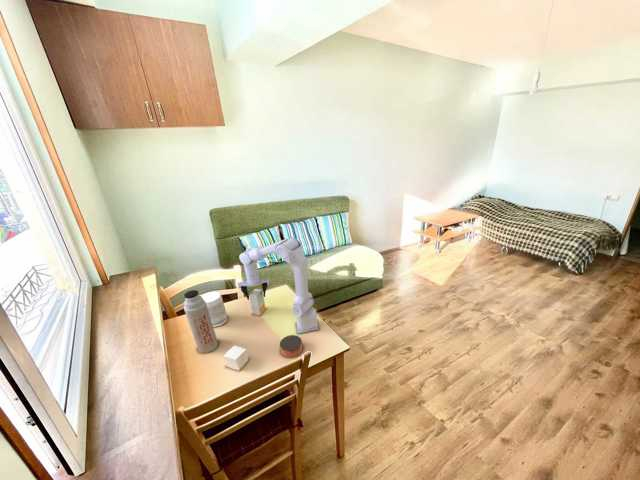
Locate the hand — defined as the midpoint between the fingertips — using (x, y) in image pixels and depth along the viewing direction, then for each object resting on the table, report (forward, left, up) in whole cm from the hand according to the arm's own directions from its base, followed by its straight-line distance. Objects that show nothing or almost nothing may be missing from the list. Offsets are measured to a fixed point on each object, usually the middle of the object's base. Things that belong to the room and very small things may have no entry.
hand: (256, 297), depth 139 cm
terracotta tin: (-13, +32, -9) cm, 35 cm away
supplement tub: (+20, +2, -9) cm, 22 cm away
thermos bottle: (+22, +19, -9) cm, 30 cm away
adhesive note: (+9, +33, -9) cm, 35 cm away
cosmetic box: (0, 0, -9) cm, 9 cm away
